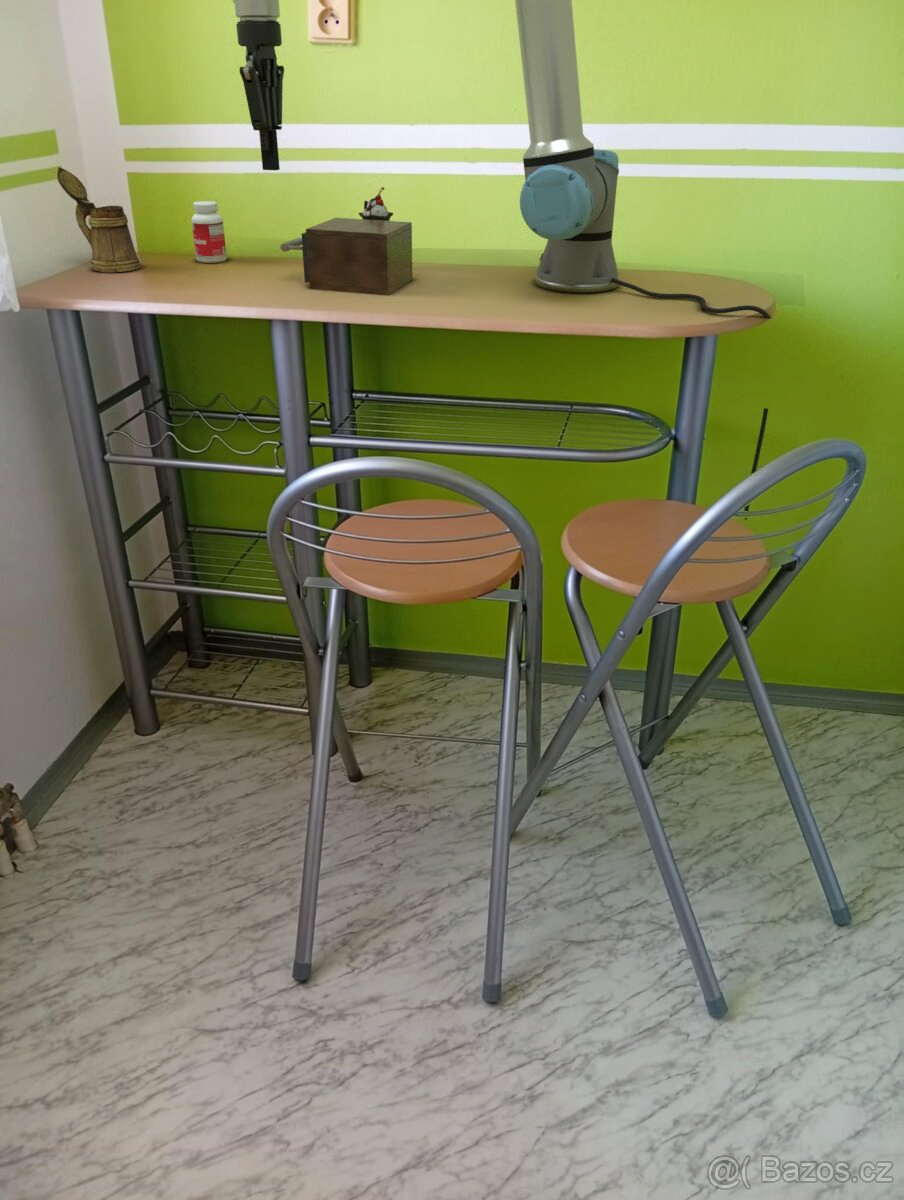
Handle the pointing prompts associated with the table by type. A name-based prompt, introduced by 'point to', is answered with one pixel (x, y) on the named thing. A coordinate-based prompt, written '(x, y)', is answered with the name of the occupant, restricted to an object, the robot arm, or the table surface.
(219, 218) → the pill bottle
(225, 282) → the table surface
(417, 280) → the table surface
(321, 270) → the cabinet
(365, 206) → the sundae
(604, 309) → the table surface
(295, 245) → the drawer
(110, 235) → the wooden mug
